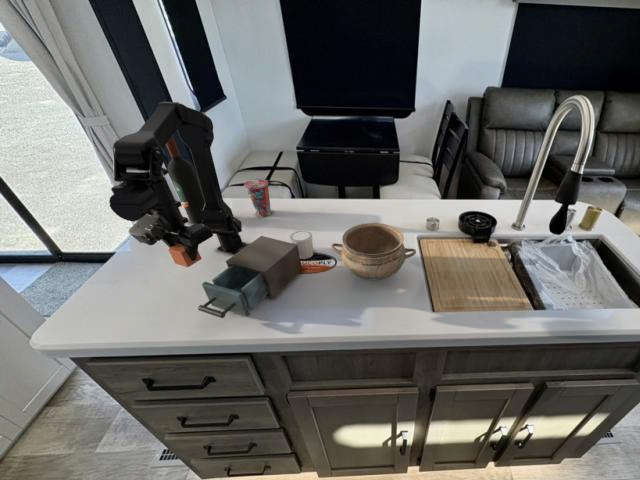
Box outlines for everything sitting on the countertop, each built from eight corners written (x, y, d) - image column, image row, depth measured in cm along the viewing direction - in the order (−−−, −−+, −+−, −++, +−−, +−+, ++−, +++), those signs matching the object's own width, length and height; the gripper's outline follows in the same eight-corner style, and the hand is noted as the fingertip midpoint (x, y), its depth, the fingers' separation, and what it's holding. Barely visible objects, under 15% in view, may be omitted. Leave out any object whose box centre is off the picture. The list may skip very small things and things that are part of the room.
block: (175, 263, 83) (167, 249, 80) (189, 255, 86) (182, 240, 84) (188, 267, 82) (181, 253, 79) (201, 258, 85) (195, 244, 82)
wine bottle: (207, 224, 119) (171, 135, 99) (186, 223, 119) (146, 135, 99) (216, 215, 124) (184, 129, 105) (196, 214, 124) (160, 128, 104)
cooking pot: (326, 288, 94) (321, 252, 85) (340, 252, 108) (337, 219, 100) (413, 294, 93) (415, 259, 85) (415, 257, 107) (418, 224, 99)
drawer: (233, 330, 79) (223, 308, 74) (196, 317, 82) (185, 295, 77) (279, 286, 92) (273, 265, 87) (246, 277, 95) (239, 256, 90)
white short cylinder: (310, 261, 103) (306, 242, 99) (290, 258, 104) (285, 239, 100) (318, 250, 108) (315, 231, 104) (299, 247, 109) (295, 228, 105)
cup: (251, 210, 128) (243, 180, 120) (274, 207, 131) (266, 177, 123) (253, 221, 122) (244, 190, 114) (277, 217, 125) (269, 186, 117)
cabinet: (272, 298, 89) (264, 272, 83) (235, 287, 92) (225, 261, 86) (302, 270, 100) (297, 244, 94) (268, 260, 103) (261, 235, 97)
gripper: (94, 206, 70) (131, 265, 80) (158, 224, 65) (188, 284, 76) (142, 188, 78) (170, 244, 88) (202, 202, 73) (224, 260, 84)
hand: (187, 257), depth 84 cm, fingers closed on block, 4 cm apart
